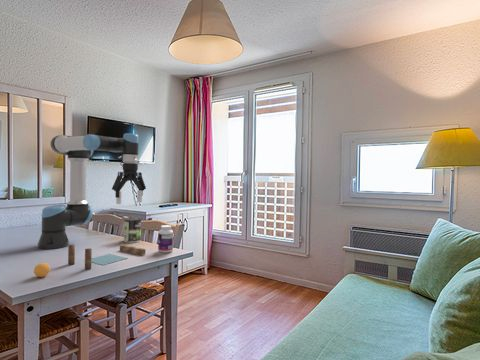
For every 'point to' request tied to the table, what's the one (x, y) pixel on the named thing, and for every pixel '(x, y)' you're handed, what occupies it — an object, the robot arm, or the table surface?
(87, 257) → the post
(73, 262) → the post
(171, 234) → the pill bottle
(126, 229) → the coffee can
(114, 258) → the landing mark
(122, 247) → the wooden bar
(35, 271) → the ball
